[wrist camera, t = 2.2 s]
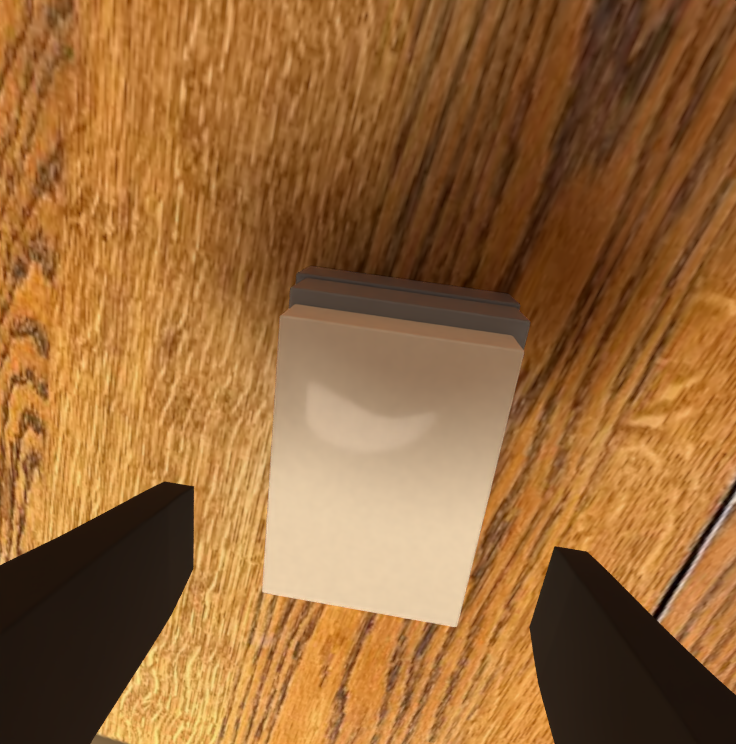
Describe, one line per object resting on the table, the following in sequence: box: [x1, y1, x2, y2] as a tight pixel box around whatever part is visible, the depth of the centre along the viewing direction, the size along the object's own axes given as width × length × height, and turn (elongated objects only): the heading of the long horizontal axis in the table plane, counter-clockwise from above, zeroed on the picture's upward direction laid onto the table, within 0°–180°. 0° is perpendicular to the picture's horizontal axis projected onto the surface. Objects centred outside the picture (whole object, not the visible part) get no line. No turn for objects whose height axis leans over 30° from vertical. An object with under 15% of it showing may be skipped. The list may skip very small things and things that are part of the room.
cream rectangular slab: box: [262, 304, 524, 627], centre depth 12 cm, size 8×6×1 cm
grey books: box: [289, 266, 530, 350], centre depth 15 cm, size 9×6×4 cm
